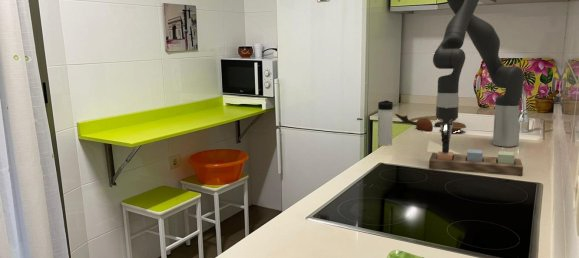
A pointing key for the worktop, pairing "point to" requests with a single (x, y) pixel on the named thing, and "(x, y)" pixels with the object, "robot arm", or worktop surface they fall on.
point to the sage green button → (506, 157)
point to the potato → (424, 125)
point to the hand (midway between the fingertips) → (445, 152)
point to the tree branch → (406, 120)
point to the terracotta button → (445, 155)
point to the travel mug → (385, 123)
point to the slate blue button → (474, 155)
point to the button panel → (476, 165)
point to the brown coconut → (457, 126)
